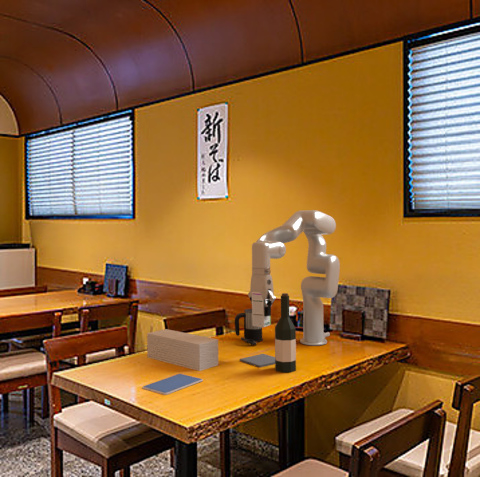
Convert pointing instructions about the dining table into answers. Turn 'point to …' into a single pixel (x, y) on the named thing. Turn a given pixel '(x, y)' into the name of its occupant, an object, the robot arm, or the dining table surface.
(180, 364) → the stack of papers
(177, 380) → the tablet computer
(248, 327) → the milk frother
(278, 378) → the dining table surface
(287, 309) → the wine bottle
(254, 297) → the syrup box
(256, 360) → the mat
